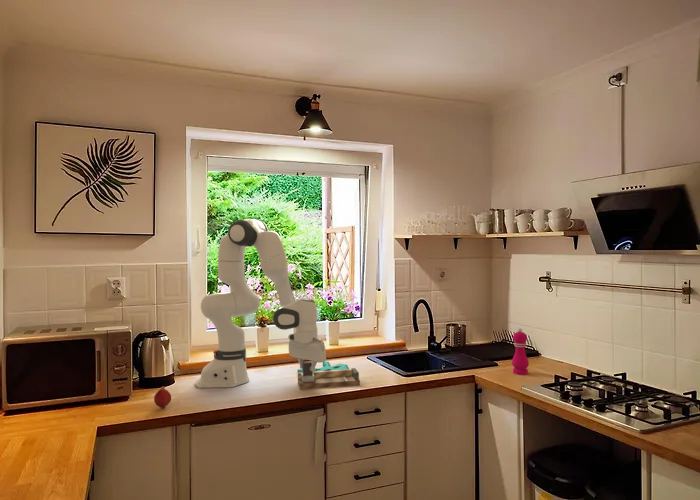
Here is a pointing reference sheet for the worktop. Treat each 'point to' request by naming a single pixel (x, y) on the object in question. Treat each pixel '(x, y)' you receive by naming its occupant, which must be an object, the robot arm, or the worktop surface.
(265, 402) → the worktop surface
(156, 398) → the onion
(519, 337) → the pepper mill
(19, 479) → the worktop surface
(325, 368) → the alien figure
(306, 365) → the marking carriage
